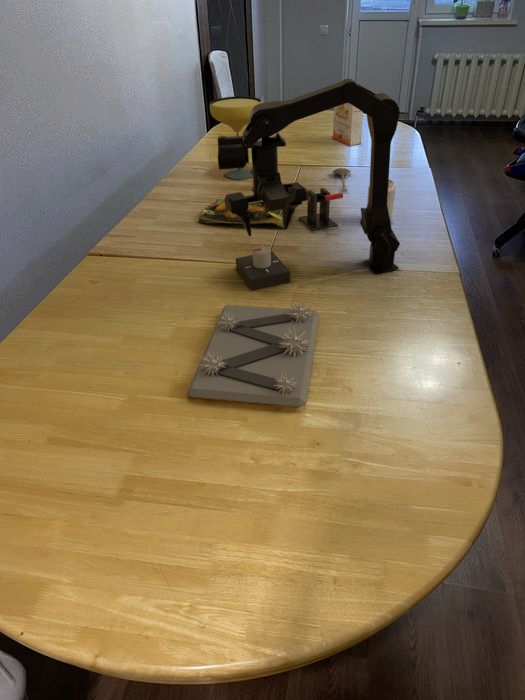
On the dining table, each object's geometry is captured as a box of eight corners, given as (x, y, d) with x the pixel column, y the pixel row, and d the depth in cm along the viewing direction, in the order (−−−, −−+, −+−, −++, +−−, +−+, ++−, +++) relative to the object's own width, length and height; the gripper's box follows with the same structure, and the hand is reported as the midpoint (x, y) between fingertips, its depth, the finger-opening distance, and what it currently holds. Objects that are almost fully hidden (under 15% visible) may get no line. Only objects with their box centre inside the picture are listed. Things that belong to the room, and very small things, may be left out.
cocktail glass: (271, 178, 188) (270, 103, 173) (224, 186, 183) (218, 110, 168) (254, 164, 201) (251, 94, 186) (209, 171, 196) (203, 99, 181)
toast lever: (343, 199, 140) (342, 190, 139) (327, 202, 139) (326, 193, 138) (324, 200, 151) (323, 192, 151) (309, 203, 150) (308, 194, 149)
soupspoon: (350, 173, 190) (332, 174, 191) (350, 164, 189) (332, 165, 189) (354, 193, 172) (334, 194, 173) (354, 182, 171) (334, 184, 171)
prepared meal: (194, 213, 154) (214, 190, 168) (195, 224, 156) (215, 201, 170) (286, 223, 148) (299, 199, 162) (285, 234, 150) (298, 210, 164)
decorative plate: (224, 312, 117) (221, 284, 112) (319, 318, 113) (320, 289, 109) (186, 401, 93) (181, 370, 89) (305, 412, 90) (305, 381, 85)
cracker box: (331, 138, 226) (334, 86, 214) (343, 136, 228) (346, 84, 216) (349, 146, 216) (352, 91, 203) (361, 144, 218) (365, 89, 205)
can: (391, 227, 150) (396, 186, 143) (365, 226, 151) (368, 185, 144) (391, 217, 156) (396, 177, 149) (366, 216, 157) (369, 176, 150)
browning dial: (267, 258, 130) (266, 243, 127) (273, 266, 127) (273, 250, 124) (250, 262, 129) (249, 246, 126) (256, 270, 126) (256, 253, 123)
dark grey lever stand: (337, 227, 151) (339, 195, 145) (312, 232, 149) (313, 199, 143) (322, 215, 159) (323, 184, 153) (298, 220, 157) (299, 188, 151)
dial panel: (290, 282, 126) (290, 270, 124) (251, 290, 124) (250, 278, 122) (272, 261, 135) (272, 250, 134) (236, 268, 133) (235, 257, 131)
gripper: (236, 184, 107) (241, 253, 116) (318, 170, 111) (317, 237, 121) (221, 169, 115) (226, 234, 124) (297, 156, 120) (298, 220, 129)
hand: (267, 232), depth 124 cm, fingers open, 9 cm apart
